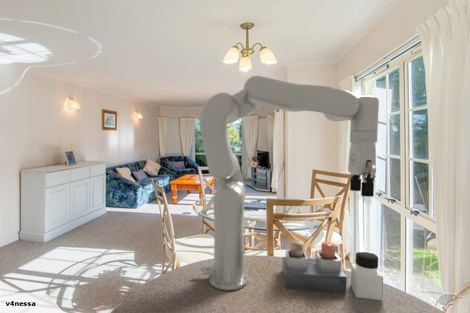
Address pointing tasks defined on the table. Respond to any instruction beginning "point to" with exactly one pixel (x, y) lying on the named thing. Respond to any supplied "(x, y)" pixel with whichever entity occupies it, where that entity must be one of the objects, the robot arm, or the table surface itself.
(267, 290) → the table surface
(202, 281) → the table surface
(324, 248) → the red plunger
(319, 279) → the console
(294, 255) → the beige ball
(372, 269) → the medicine bottle
